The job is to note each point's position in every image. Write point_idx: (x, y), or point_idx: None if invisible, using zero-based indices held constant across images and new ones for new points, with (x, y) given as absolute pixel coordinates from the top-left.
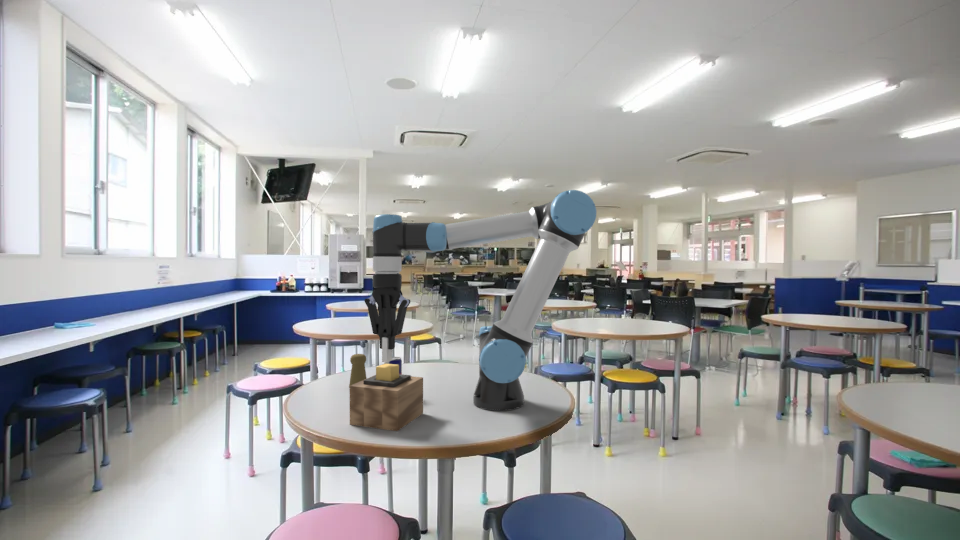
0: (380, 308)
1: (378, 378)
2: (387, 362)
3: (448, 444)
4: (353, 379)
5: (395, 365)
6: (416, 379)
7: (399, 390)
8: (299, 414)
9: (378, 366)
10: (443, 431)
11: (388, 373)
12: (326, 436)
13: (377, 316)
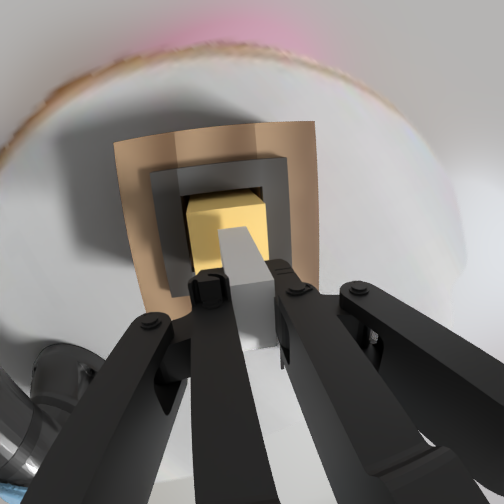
0: (420, 498)
1: (244, 196)
2: None
3: (19, 148)
4: None
5: (201, 266)
6: (150, 293)
7: (115, 156)
8: (415, 147)
9: (260, 216)
10: (57, 198)
11: (198, 207)
12: (277, 52)
13: (423, 417)
